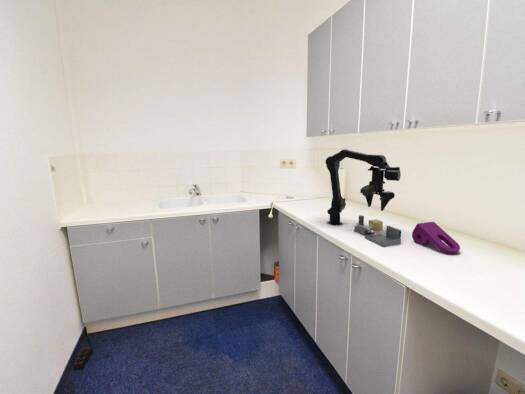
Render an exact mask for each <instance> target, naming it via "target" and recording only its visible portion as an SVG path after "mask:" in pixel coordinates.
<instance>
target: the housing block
mask: <svg viewBox="0 0 525 394" xmlns="http://www.w3.org/2000/svg"><path fill="white" fill-rule="evenodd" d="M383 224H384V222H383V221H382V220H380V219H368V225H367V226H369V227H371V228H372V229H374V231H375V232H380V231H383Z"/></svg>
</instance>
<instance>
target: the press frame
mask: <svg viewBox="0 0 525 394" xmlns="http://www.w3.org/2000/svg"><path fill="white" fill-rule="evenodd" d="M353 229H354V230H352V231H353V232H355V233H356V234H360V235H361V236H363V237H364V239H366V240H368V241H370V242H372V243H374V244H376V245H378V246H380V247H382V248H384V247H385V248H386V247H392V246H396V245H398V246H399V245H401V242H402V237H401V236H402V230H401V229H398V228H396V227H394V226H391V225H386V227H385V229H386V230H385V234H383V233H376V234H375V233H372V232H371V233H366V230H365V229H363V228H360V227H358V226H356V225H354V228H353ZM372 230H373V231H374V229H372Z"/></svg>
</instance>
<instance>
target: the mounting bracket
mask: <svg viewBox="0 0 525 394" xmlns="http://www.w3.org/2000/svg"><path fill="white" fill-rule="evenodd" d="M411 237H412V239H413V242H414V243H415V244H417V245H419V246H423V245H424V246H425V245H428V244H429V243H431V244H432V245H433V246H434V247H435V248H436V249H437V250H438V251H440V252H441V253H443V254H446V255H456V254H458V253H459V252H460V249H461V246H460V244H459V243H458V242H457V241H456V240H455V239H454V238H452V237H451V235H449V234H448V233H447V232H446V231H445V230H444V229H442V228H441V227H440V226H439V225H438V224H437V223H436V222H435V221H428V222H420V223H417V224H416V225H415V226H414V229H413V230H412V232H411Z"/></svg>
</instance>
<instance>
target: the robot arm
mask: <svg viewBox="0 0 525 394" xmlns="http://www.w3.org/2000/svg"><path fill="white" fill-rule="evenodd" d="M345 158H349V159H352V160H357V161H360V162H365V163H367V164H368V165H371V166H370V167H369V168H367V171H368V172H369V171H370V172H371V180H370V181H369V182H368V184H367V185H364V186H363V187H361V188H360V194H361V195H362V196H364V199H365V200H366V203H367V207H368V208H370V207H371V206H372V203H373V199H374V195H377V196H379V200H380V211H382V212H383V211H384V210H385V209H386V206H387V205H388V204H389V202H390V201H391V200H393V199H395V193H394V192H392V191H389V190H387V191H385V189H384V184H386V181H395V182H399V181H400V180H401V175H402V173H401V167H400V166H393V167H392V166H390V165H389V163H388V162H387V158H386V156H385V155H383V154H368V153H363V152H358V151H354V150H349V149H347V148H346V149H342V150H340V151H338V152H337V153H335V154H333V155H331V156H328V157H326V159H325V165H326V168H327V171H328V172H329V176H330V178H329V179H330V184H331V191H332V192H331V193H332V198H331V204H330V205H331V207H329V209H327V215H329V221H327V223H328V224H329V225H332V226H336V225H337V226H338V225H343V223H342V222H341V213H342V211H344V209H345V208H346V205H347V204H346V198H345V197H344V198H343V196H342V192H341V185H340V184H341V183H340V176H339V175H340V174H339V170H340V166H341V165H340V163H341V162H342V161H344V159H345ZM384 179H385V180H386V181H385V180H384Z"/></svg>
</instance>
